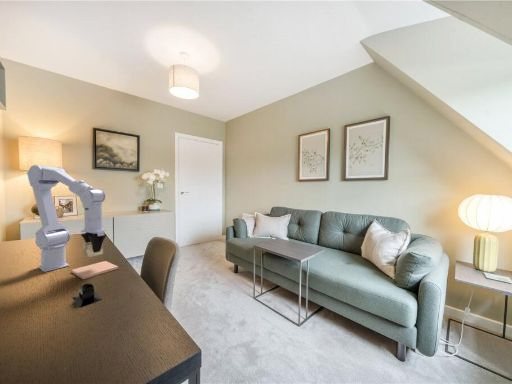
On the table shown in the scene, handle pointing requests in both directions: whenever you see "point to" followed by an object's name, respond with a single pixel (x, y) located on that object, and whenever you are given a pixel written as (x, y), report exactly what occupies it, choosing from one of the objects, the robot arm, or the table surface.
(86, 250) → the birch cube
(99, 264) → the salmon pink board
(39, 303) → the table surface
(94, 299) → the black block on base
